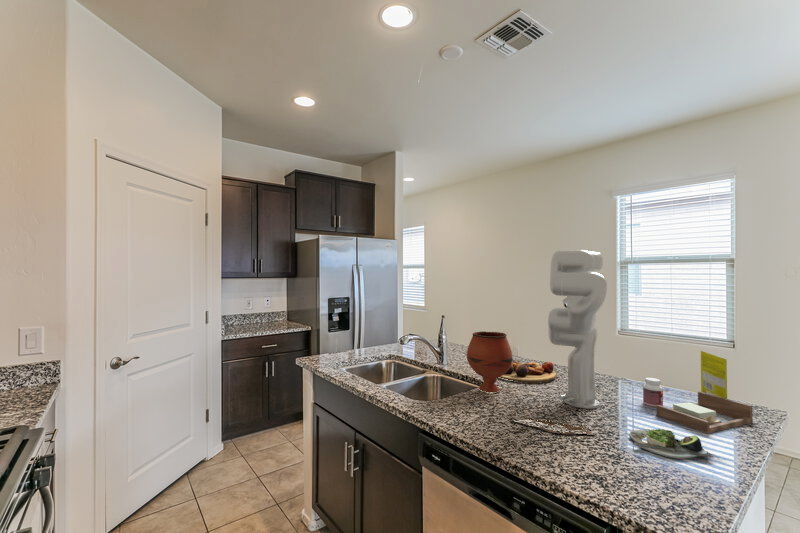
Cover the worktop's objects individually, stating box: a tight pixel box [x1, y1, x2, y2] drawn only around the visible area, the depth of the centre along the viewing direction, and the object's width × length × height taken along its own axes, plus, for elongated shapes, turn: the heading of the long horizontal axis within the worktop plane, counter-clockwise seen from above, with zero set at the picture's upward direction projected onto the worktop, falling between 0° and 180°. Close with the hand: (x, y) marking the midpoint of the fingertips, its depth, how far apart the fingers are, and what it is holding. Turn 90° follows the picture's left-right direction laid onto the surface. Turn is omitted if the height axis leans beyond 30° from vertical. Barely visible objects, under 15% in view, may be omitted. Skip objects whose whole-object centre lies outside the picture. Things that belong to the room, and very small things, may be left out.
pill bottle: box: [642, 377, 664, 409], centre depth 137 cm, size 6×6×11 cm
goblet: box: [466, 331, 514, 392], centre depth 157 cm, size 19×19×25 cm
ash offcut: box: [671, 407, 717, 422], centre depth 122 cm, size 8×10×2 cm
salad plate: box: [628, 428, 714, 460], centre depth 107 cm, size 19×18×5 cm
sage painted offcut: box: [672, 401, 717, 418], centre depth 122 cm, size 7×9×2 cm
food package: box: [700, 350, 728, 399], centre depth 139 cm, size 15×1×20 cm, turn 168°
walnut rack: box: [655, 391, 754, 434], centre depth 124 cm, size 24×16×7 cm, turn 111°
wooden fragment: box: [525, 417, 595, 436], centre depth 120 cm, size 26×11×1 cm, turn 62°
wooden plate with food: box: [500, 360, 557, 384], centre depth 183 cm, size 32×32×8 cm
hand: (578, 319), depth 162 cm, fingers open, 9 cm apart
